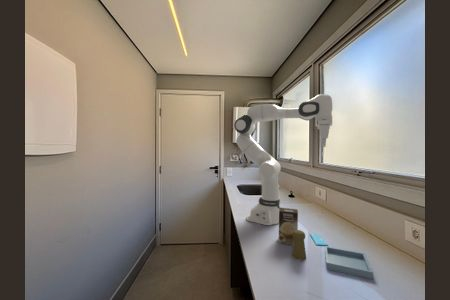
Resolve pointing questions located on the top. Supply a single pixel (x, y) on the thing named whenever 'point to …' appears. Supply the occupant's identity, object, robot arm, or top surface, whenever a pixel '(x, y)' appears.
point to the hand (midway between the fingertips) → (323, 146)
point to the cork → (298, 245)
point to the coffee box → (287, 225)
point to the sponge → (318, 240)
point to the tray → (348, 262)
